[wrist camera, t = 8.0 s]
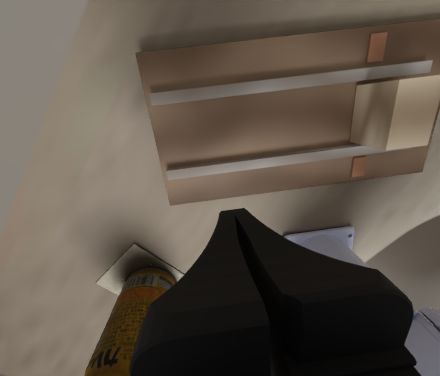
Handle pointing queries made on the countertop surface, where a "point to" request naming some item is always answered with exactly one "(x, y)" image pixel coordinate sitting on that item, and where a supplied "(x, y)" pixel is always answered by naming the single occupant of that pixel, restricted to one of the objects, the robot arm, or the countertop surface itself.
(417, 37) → the console
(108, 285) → the condiment
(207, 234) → the countertop surface
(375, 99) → the fader tab
